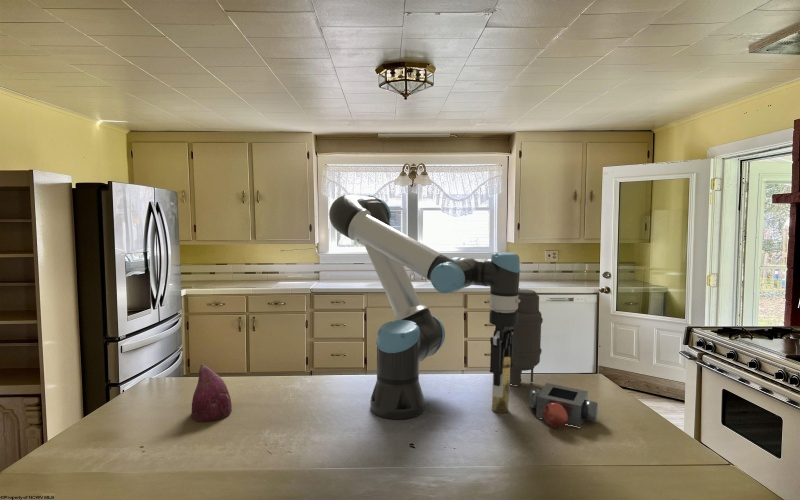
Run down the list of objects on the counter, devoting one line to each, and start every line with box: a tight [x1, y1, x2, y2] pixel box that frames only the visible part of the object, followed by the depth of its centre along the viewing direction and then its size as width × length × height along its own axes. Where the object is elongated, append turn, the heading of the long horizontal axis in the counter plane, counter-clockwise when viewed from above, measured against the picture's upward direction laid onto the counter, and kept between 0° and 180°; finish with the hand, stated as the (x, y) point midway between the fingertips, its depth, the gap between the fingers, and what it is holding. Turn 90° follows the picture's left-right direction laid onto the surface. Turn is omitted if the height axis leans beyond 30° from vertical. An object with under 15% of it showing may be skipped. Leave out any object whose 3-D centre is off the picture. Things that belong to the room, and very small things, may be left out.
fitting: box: [491, 354, 511, 414], centre depth 122 cm, size 5×5×15 cm
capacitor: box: [510, 289, 544, 386], centre depth 142 cm, size 14×14×30 cm
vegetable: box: [190, 363, 233, 423], centre depth 118 cm, size 10×10×15 cm
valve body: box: [527, 382, 599, 429], centre depth 118 cm, size 17×15×6 cm
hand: (500, 392), depth 122 cm, fingers closed on fitting, 4 cm apart
